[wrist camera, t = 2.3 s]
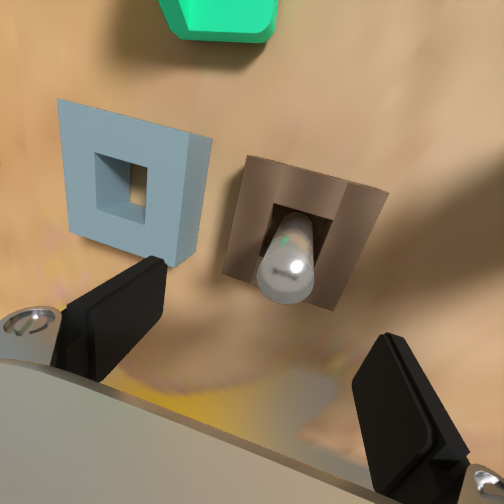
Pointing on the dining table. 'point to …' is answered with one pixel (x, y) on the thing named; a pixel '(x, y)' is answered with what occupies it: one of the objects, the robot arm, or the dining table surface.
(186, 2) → the camera mount
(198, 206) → the socket block
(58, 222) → the dining table surface
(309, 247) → the steel pin
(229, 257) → the walnut mount block
